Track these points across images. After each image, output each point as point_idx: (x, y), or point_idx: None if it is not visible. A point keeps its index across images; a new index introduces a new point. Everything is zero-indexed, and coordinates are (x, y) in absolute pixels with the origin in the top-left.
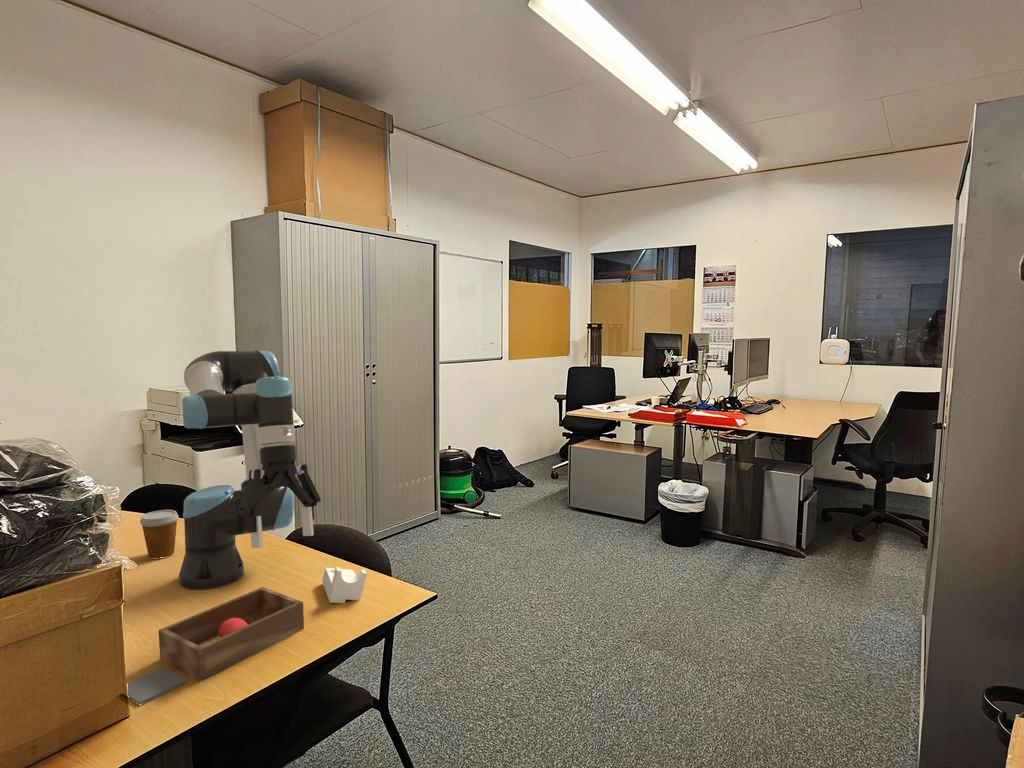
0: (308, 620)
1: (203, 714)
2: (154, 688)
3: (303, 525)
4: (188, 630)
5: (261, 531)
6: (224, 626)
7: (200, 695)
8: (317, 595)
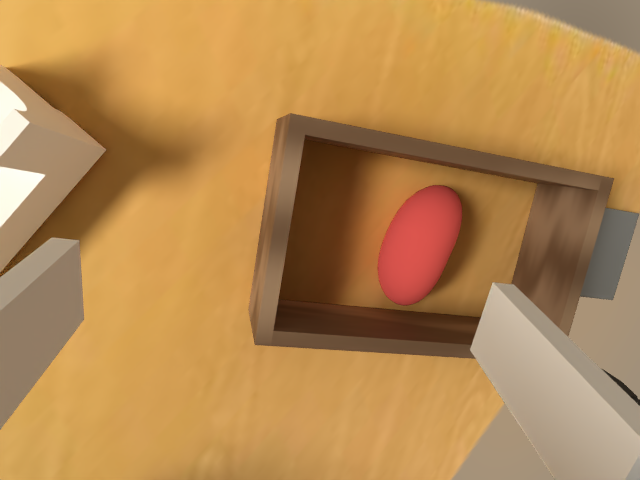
0: (229, 143)
1: (629, 68)
2: (600, 231)
3: (44, 357)
4: None
5: (554, 342)
6: (442, 270)
7: (585, 130)
8: None
